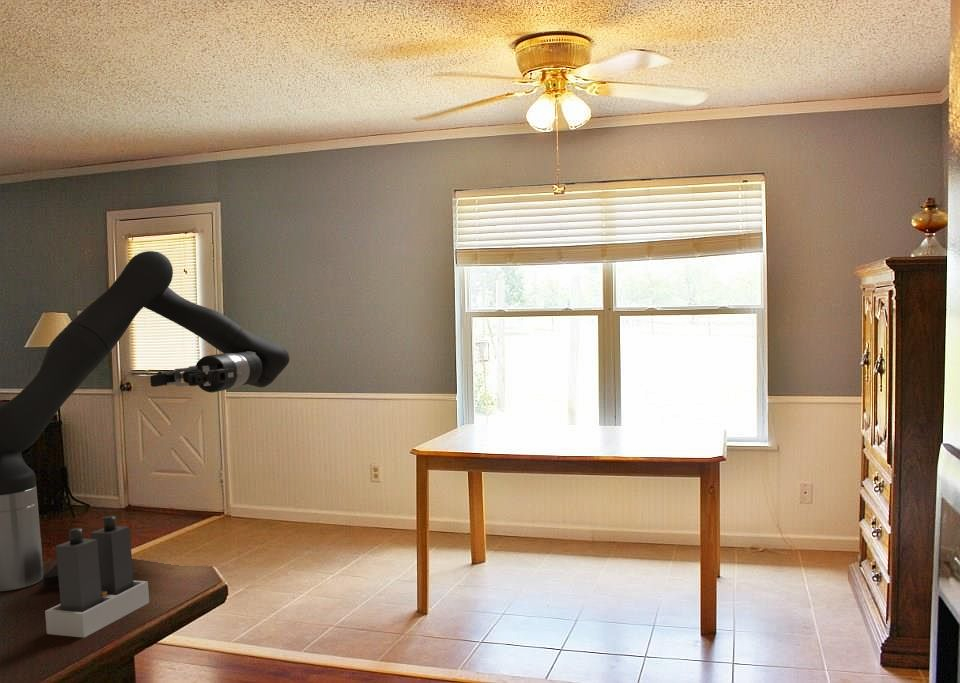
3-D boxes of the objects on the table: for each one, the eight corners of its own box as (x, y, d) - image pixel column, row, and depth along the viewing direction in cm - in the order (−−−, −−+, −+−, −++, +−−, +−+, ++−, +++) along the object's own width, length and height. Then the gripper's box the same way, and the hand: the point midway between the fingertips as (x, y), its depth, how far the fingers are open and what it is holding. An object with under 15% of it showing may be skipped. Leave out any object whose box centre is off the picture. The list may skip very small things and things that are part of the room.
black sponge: (91, 590, 144) (89, 570, 144) (40, 595, 143) (38, 574, 143) (118, 562, 160) (117, 543, 160) (72, 566, 159) (71, 547, 159)
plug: (117, 614, 130) (110, 521, 129) (97, 612, 131) (89, 520, 130) (135, 605, 134) (128, 514, 133) (115, 603, 135) (108, 513, 134)
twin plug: (83, 632, 123) (75, 534, 122) (62, 630, 124) (54, 533, 124) (103, 621, 127) (96, 526, 126) (82, 620, 128) (75, 525, 127)
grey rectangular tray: (84, 640, 121) (82, 610, 121) (47, 636, 124) (44, 606, 123) (149, 605, 135) (147, 577, 134) (114, 602, 137) (112, 575, 137)
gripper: (192, 354, 171) (138, 361, 156) (251, 352, 167) (201, 359, 152) (195, 390, 172) (141, 401, 156) (253, 389, 167) (204, 400, 152)
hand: (170, 380), depth 154 cm, fingers open, 8 cm apart
